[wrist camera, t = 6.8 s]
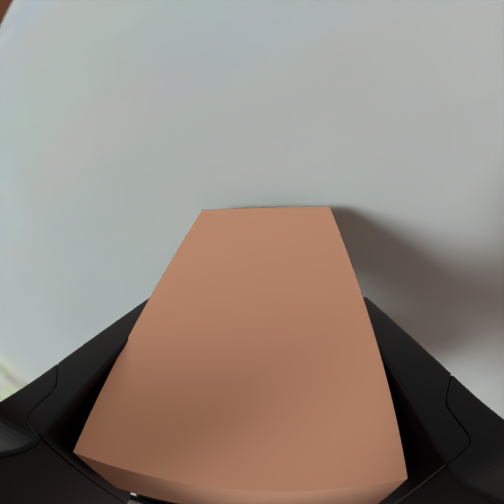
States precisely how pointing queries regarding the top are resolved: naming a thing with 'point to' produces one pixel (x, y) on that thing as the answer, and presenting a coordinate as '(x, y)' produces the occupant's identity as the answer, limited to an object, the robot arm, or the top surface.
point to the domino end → (251, 374)
